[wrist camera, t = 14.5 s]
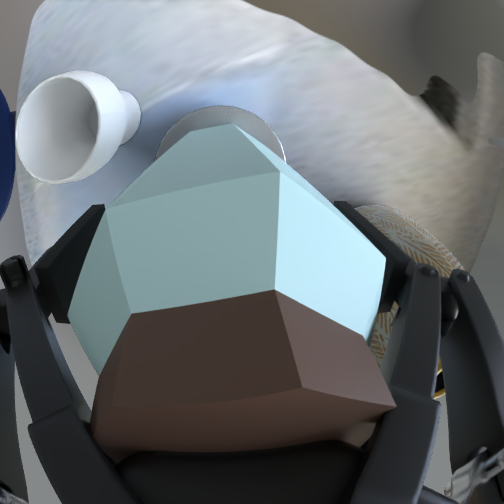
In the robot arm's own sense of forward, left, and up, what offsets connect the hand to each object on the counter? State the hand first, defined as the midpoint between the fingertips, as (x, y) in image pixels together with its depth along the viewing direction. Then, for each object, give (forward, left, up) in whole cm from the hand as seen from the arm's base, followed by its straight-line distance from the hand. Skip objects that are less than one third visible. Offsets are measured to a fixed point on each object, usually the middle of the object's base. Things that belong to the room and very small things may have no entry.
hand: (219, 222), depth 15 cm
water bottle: (0, 0, -13) cm, 13 cm away
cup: (-6, -14, -22) cm, 27 cm away
